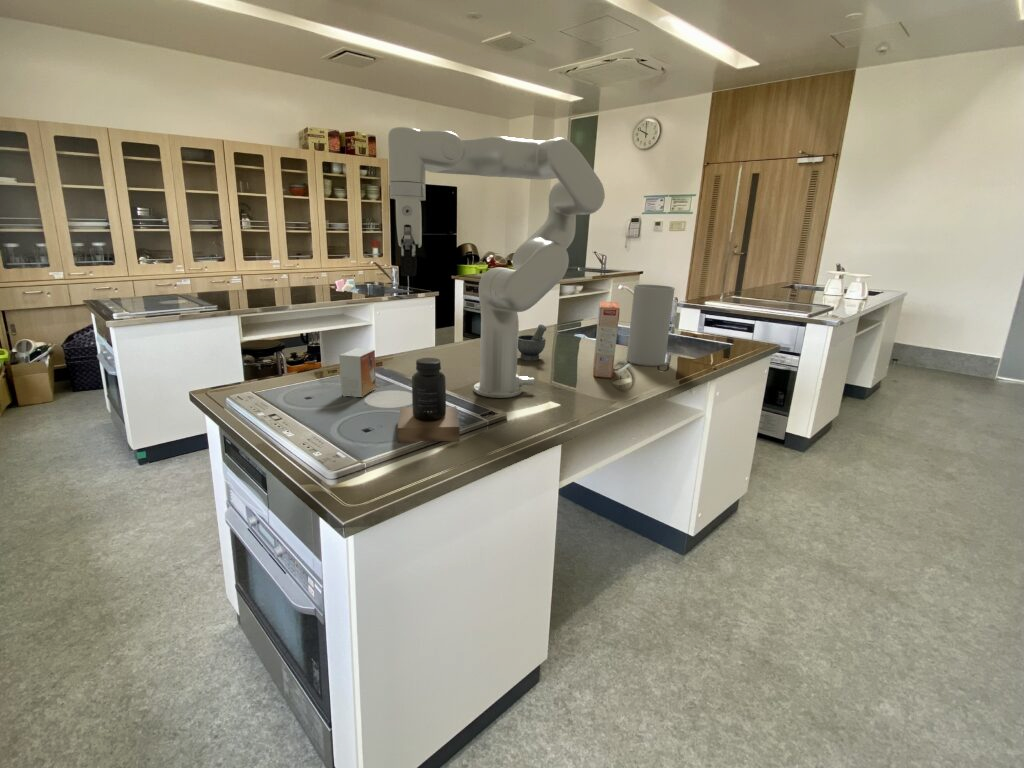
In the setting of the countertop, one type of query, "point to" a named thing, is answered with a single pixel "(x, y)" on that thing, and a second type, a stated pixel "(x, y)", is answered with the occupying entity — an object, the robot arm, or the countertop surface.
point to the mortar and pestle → (532, 344)
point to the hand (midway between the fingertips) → (409, 273)
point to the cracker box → (606, 339)
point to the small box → (357, 372)
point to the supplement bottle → (428, 390)
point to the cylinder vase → (650, 324)
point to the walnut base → (428, 427)
